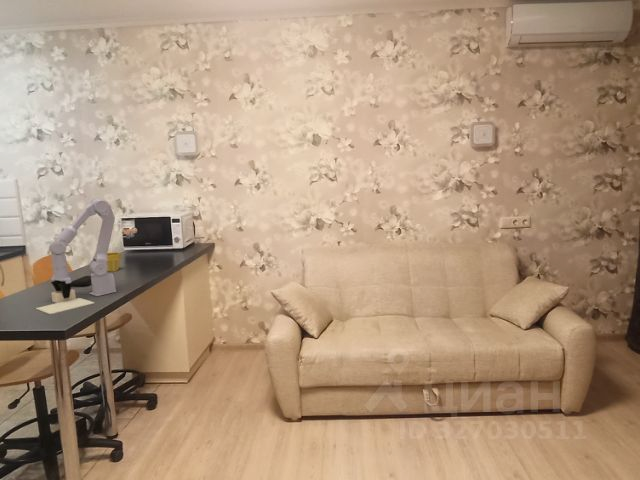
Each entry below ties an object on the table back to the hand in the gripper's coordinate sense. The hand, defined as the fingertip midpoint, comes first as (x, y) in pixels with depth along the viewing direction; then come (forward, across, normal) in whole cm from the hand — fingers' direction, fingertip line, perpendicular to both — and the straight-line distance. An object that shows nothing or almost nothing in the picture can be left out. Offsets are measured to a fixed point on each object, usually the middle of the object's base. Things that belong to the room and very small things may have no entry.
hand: (63, 297), depth 208 cm
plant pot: (+2, -41, +44) cm, 60 cm away
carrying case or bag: (+2, -24, +20) cm, 31 cm away
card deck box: (+1, 0, 0) cm, 1 cm away
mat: (+1, +11, -4) cm, 12 cm away
